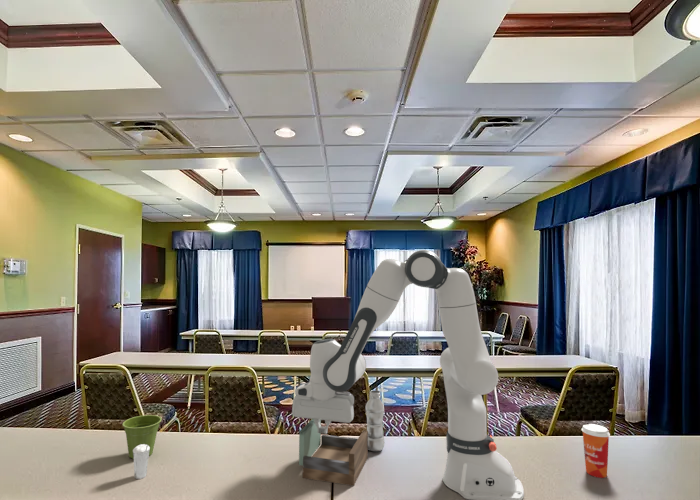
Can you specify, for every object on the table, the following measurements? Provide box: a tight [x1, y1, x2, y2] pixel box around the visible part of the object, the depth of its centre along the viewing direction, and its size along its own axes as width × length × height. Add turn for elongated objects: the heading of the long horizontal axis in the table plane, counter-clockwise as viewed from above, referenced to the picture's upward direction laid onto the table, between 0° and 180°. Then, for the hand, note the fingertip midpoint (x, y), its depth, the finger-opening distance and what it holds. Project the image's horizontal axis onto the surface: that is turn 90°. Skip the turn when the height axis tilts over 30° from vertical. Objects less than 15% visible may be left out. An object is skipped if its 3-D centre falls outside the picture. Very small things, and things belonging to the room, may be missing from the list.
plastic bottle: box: [365, 389, 386, 452], centre depth 143 cm, size 6×7×20 cm
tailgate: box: [298, 419, 322, 467], centre depth 132 cm, size 2×16×10 cm, turn 165°
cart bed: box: [302, 430, 369, 487], centre depth 129 cm, size 16×18×9 cm
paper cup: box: [581, 423, 611, 479], centre depth 127 cm, size 8×8×14 cm
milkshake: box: [133, 444, 150, 480], centre depth 123 cm, size 4×5×10 cm
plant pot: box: [122, 414, 163, 460], centre depth 137 cm, size 12×12×11 cm
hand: (322, 432), depth 131 cm, fingers closed
